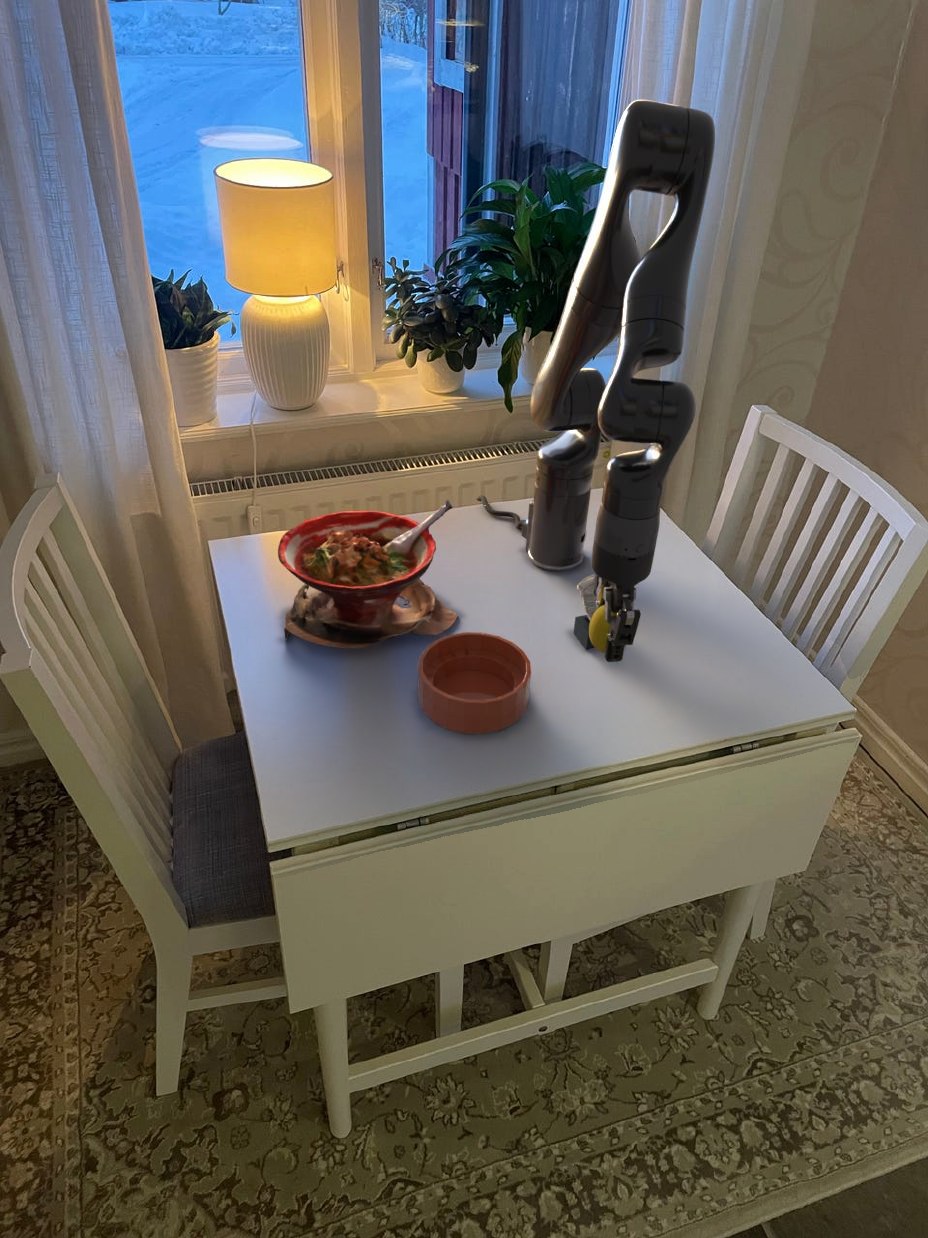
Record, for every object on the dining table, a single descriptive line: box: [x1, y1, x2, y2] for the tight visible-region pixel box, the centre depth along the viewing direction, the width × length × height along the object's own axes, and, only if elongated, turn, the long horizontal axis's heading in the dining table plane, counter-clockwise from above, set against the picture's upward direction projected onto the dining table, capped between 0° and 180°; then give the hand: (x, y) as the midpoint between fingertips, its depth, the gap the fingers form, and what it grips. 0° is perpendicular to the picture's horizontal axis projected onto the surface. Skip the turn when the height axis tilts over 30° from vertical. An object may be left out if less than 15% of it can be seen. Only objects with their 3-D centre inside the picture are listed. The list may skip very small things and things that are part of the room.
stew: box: [277, 499, 458, 649], centre depth 141 cm, size 28×24×16 cm
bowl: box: [417, 631, 532, 734], centre depth 128 cm, size 15×15×6 cm
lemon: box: [589, 605, 627, 654], centre depth 122 cm, size 6×6×8 cm
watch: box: [572, 573, 597, 651], centre depth 139 cm, size 6×8×11 cm
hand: (607, 645), depth 124 cm, fingers closed on lemon, 5 cm apart
